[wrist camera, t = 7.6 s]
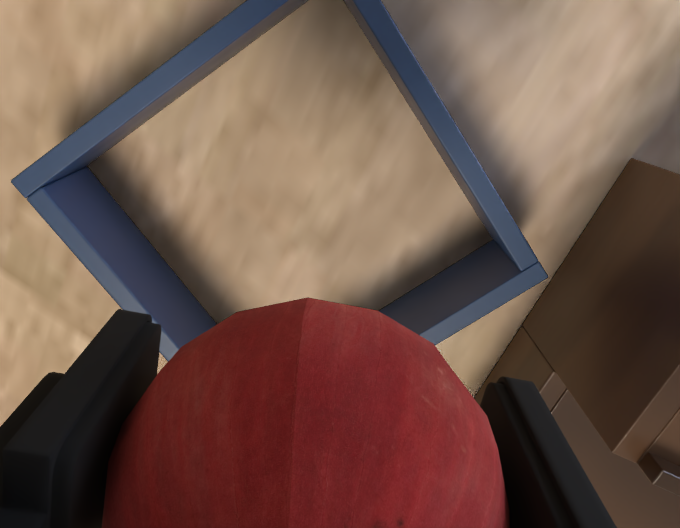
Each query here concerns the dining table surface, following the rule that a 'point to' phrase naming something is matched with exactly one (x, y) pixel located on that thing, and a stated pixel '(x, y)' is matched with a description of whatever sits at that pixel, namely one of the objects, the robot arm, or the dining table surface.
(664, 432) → the step shelf
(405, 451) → the onion
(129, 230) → the crate
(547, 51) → the dining table surface
